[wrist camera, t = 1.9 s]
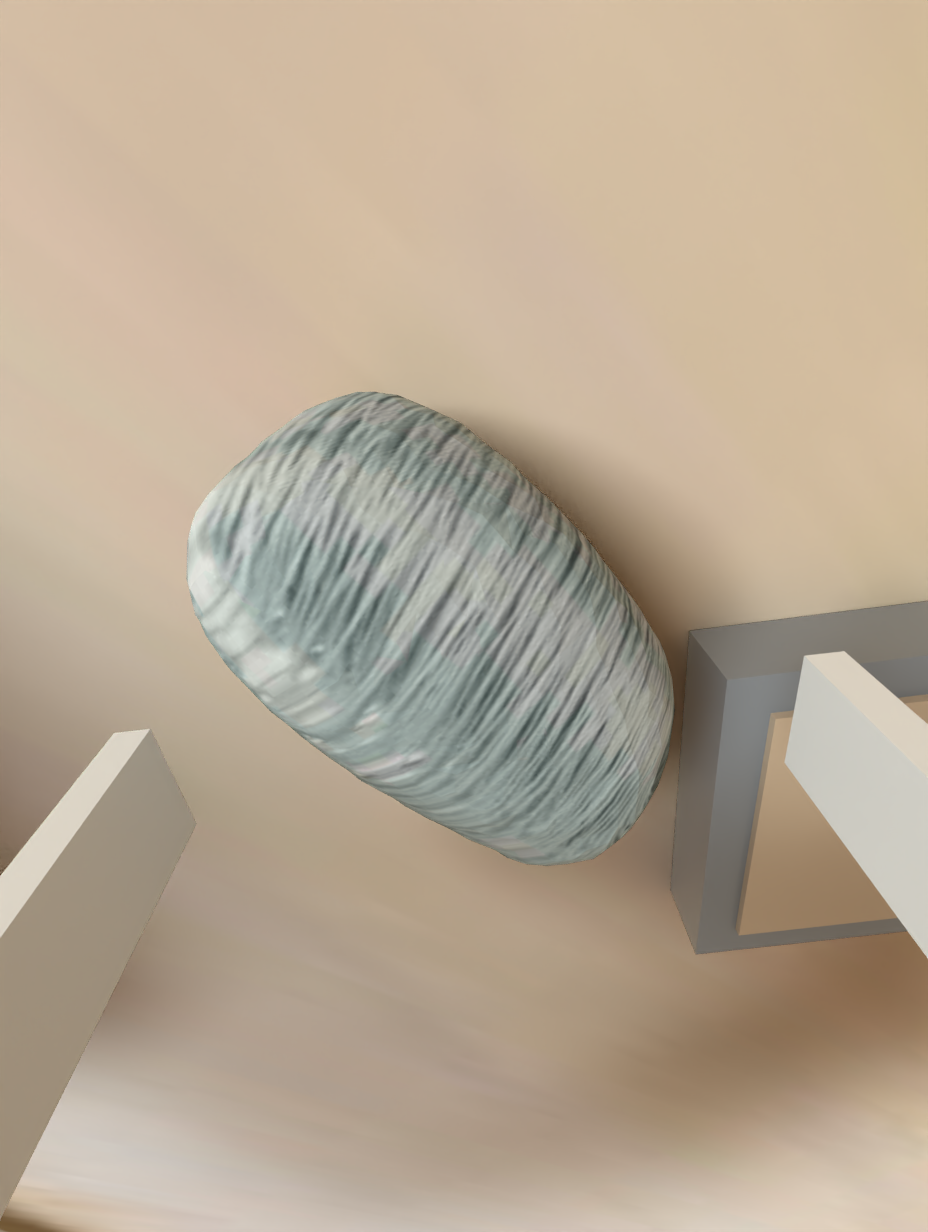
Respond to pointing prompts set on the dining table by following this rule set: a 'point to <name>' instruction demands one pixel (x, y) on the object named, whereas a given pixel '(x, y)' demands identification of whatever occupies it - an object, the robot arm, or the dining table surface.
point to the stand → (775, 782)
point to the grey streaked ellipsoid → (435, 628)
